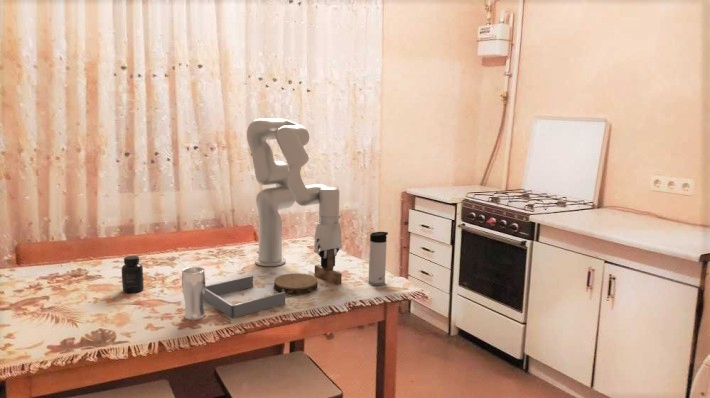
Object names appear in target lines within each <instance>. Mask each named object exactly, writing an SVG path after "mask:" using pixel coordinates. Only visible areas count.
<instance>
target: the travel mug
mask: <svg viewBox="0 0 710 398" xmlns="http://www.w3.org/2000/svg"><path fill="white" fill-rule="evenodd" d="M388 234H389V233H388V232H387V231H376V232H375V231H374V232H371V234H369V252H368V254H369V256H368V258H369V259H368V260H369V261H368V281H367V282H368V284H369V285H371V286H377V287H379V286H380V287H381V286H384V285H385V283H386V265H387V263H386V261H387V235H388Z"/></svg>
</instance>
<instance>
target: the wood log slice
mask: <svg viewBox="0 0 710 398" xmlns="http://www.w3.org/2000/svg"><path fill="white" fill-rule="evenodd" d="M318 286H319V285H318V278H317V276H314V275H312V274H307V273H300V272H298V273H296V272H295V273H286V274H281V275H279V276H276V277H275V278H274V280H273V290H274V291H275V292H277V293H281V292H285V296H286V295H288V296H301V295H308V294H312V293H313V292H315V291H317V289H318Z"/></svg>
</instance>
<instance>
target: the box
mask: <svg viewBox="0 0 710 398" xmlns="http://www.w3.org/2000/svg"><path fill="white" fill-rule="evenodd" d="M253 287H254V276H253V275H248V276H243V277H239V278H235V279H231V280H225V281H221V282H217V283H212V284H209V285H205V294H204V300H203V301H204V302H207V304H209V305H211V306H212V307H214V308H216V309H217V310H219V311H220V312H221V313H223V314H225V315H226V316H228V317H229V318H230V319H235V318H239V317H242V316H245V315H249V314H254V313H257V312H261V311H264V310H267V309H272V308H275V307H278V306H282V305H285V304H286V294H285V292H281V293H279V292H277V293H274V294H270V295H266V296H263V297H259V298H255V299H250V300H246V301H242V302H239V303H236V304H232V303H231V302H229V301H227V300H226V299H224V298H223V297H221V296H220V295H224V294H229V293H232V292H236V291H241V290H243V289H248V288H253Z"/></svg>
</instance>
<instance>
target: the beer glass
mask: <svg viewBox="0 0 710 398" xmlns="http://www.w3.org/2000/svg"><path fill="white" fill-rule="evenodd" d="M181 272H182V273H181V289H182V294H183V298H184V303H185V304H184V305H185V310H184V318H185V319H186V320H190V321H195V320H200V319H203V318H204V317H205V316H206V315H205V313H206V312H205V309H204V301H205V300H204V294H205V286H206V275H205V274H206V272H205V268H204V267H200V266H191V267H190V266H189V267H186V268H183V269H182V271H181Z"/></svg>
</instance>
